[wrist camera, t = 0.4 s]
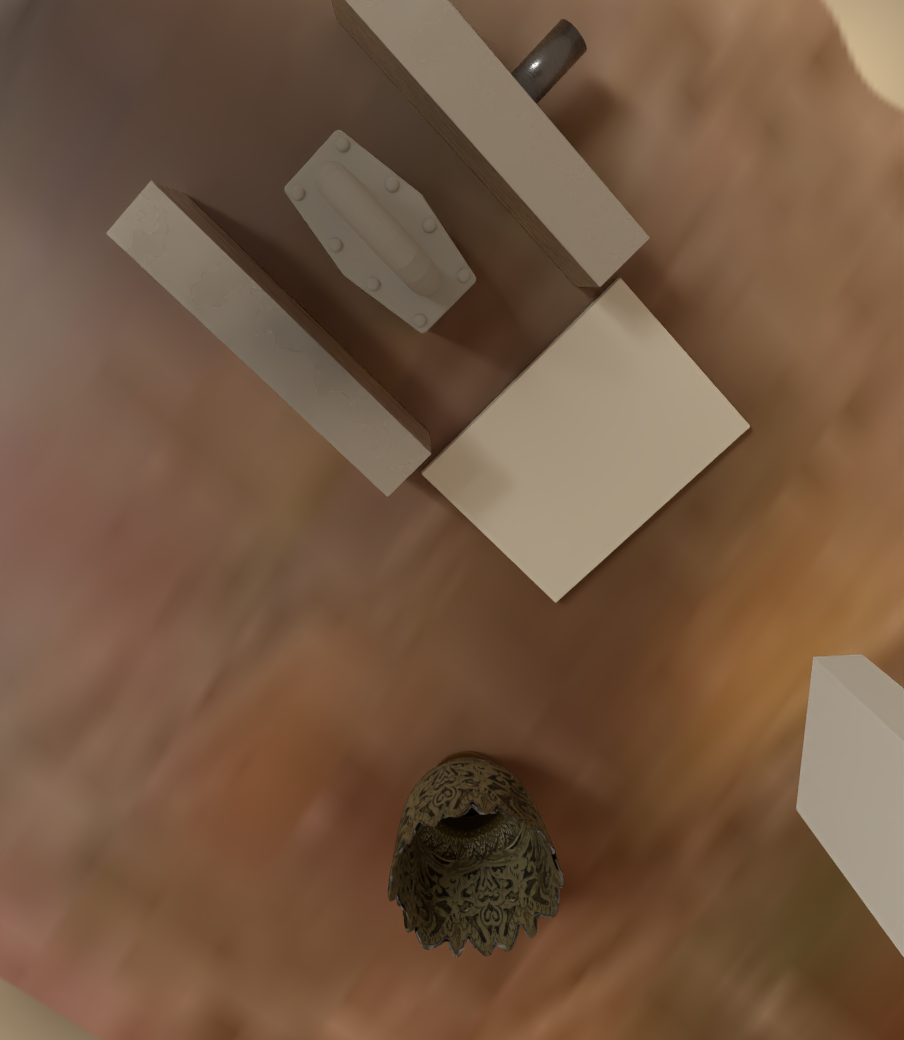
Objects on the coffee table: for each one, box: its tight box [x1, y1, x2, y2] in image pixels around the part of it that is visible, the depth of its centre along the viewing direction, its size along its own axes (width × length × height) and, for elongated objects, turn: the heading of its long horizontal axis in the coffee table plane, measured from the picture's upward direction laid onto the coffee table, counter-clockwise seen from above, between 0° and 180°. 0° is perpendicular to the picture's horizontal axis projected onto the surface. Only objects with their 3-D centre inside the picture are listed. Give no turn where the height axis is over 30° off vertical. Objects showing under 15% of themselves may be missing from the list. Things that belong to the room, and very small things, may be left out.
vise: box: [106, 0, 650, 497], centre depth 31 cm, size 14×17×4 cm
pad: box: [422, 278, 750, 603], centre depth 36 cm, size 9×12×1 cm
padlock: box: [284, 130, 476, 333], centre depth 28 cm, size 7×4×10 cm, turn 44°
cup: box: [388, 752, 564, 958], centre depth 37 cm, size 8×7×8 cm
